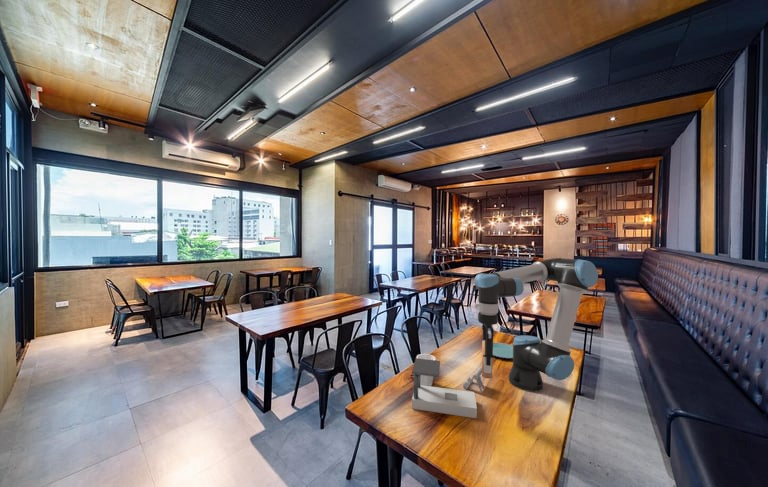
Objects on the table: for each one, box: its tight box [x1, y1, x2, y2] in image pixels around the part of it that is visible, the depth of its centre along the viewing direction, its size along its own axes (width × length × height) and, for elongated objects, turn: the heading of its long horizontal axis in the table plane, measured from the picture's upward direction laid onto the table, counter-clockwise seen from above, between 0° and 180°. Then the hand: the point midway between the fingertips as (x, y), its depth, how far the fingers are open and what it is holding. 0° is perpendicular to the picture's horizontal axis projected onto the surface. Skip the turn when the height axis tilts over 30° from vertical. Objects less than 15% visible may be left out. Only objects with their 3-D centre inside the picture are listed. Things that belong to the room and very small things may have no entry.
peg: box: [481, 339, 494, 379], centre depth 114 cm, size 4×4×14 cm
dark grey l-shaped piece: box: [411, 357, 441, 399], centre depth 122 cm, size 11×13×12 cm
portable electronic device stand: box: [462, 367, 485, 392], centre depth 134 cm, size 9×8×8 cm
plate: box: [493, 342, 513, 360], centre depth 174 cm, size 22×22×3 cm
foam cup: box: [415, 353, 437, 387], centre depth 137 cm, size 10×9×13 cm
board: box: [411, 385, 478, 419], centre depth 120 cm, size 26×12×4 cm, turn 77°
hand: (487, 369), depth 114 cm, fingers closed on peg, 4 cm apart
